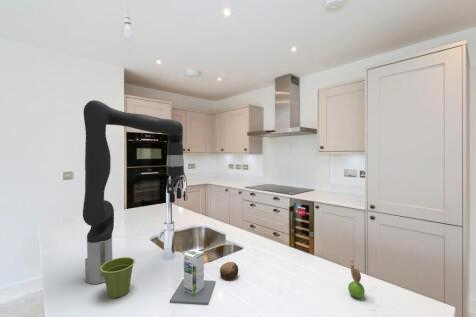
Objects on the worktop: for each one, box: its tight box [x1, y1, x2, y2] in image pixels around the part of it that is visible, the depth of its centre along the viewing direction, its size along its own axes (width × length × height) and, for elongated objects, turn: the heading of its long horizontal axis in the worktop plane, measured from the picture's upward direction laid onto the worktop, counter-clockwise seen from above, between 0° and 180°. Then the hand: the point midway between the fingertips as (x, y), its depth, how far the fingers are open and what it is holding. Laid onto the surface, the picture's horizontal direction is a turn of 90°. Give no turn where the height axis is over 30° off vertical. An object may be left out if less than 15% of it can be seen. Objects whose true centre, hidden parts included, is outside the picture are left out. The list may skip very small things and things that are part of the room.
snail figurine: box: [347, 260, 365, 299], centre depth 86 cm, size 5×6×12 cm
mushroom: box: [219, 261, 239, 281], centre depth 100 cm, size 8×8×6 cm
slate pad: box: [169, 278, 217, 306], centre depth 89 cm, size 14×14×1 cm
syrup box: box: [183, 248, 205, 295], centre depth 89 cm, size 6×6×14 cm
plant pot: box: [100, 256, 136, 299], centre depth 88 cm, size 12×12×11 cm
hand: (175, 200), depth 105 cm, fingers open, 8 cm apart
